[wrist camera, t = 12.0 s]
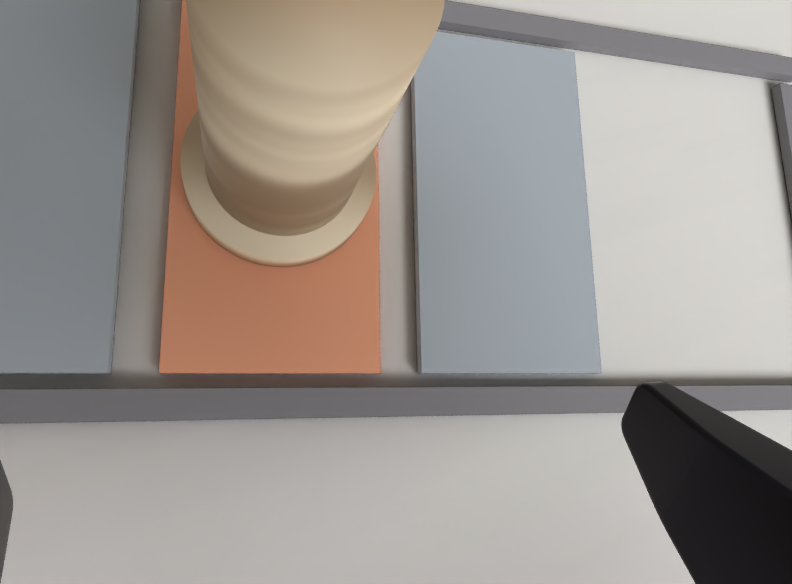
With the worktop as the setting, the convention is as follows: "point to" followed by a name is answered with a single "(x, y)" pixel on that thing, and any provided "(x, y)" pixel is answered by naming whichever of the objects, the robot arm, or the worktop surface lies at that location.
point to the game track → (351, 263)
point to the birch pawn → (294, 117)
